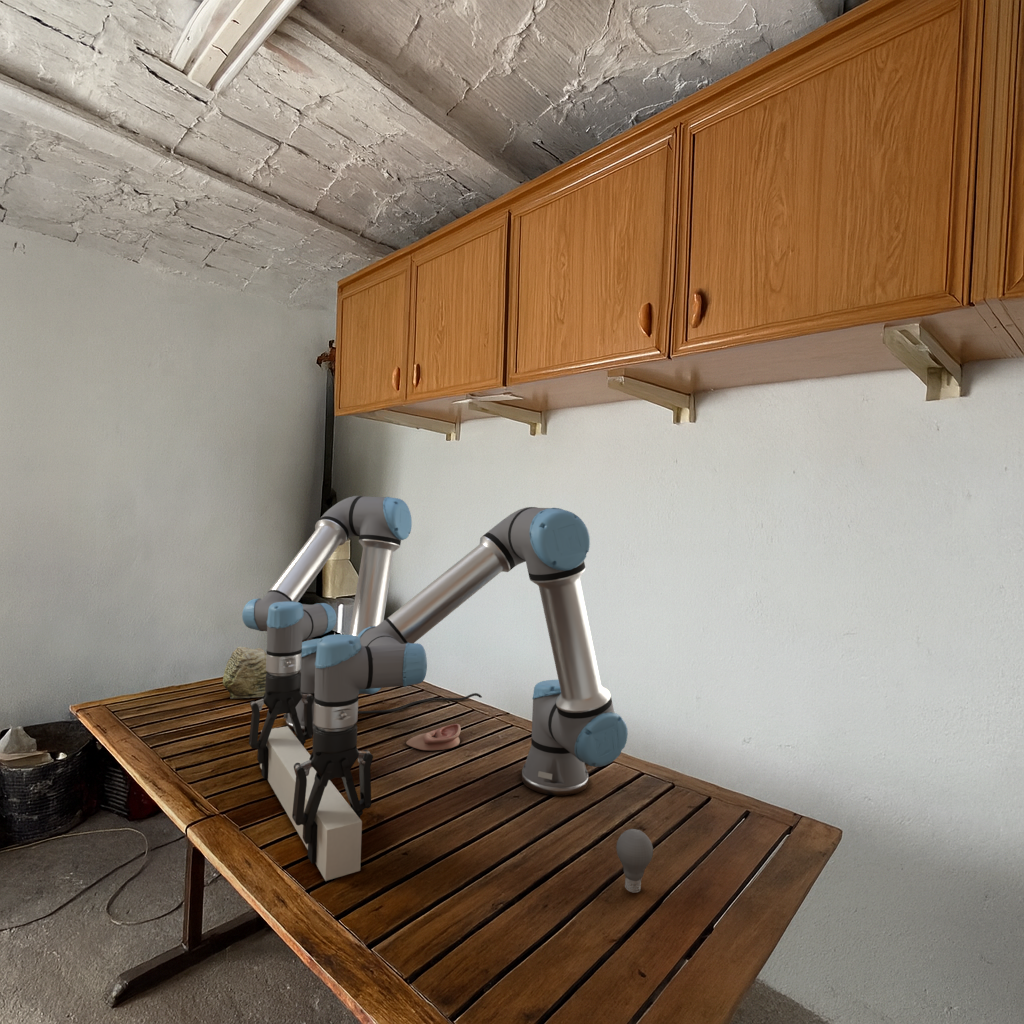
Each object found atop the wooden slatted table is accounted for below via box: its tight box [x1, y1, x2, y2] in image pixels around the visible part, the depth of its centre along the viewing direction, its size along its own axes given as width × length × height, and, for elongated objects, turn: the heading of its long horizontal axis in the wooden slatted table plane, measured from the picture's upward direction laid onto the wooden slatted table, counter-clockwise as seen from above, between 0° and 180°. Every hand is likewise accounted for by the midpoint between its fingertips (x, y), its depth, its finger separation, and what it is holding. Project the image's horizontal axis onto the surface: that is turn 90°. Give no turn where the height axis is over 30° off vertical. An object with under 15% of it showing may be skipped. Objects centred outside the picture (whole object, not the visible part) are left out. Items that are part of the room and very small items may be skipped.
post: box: [259, 725, 363, 882], centre depth 127 cm, size 50×6×9 cm, turn 33°
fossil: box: [222, 646, 268, 699], centre depth 198 cm, size 9×18×15 cm, turn 132°
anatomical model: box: [405, 723, 462, 751], centre depth 165 cm, size 13×4×12 cm
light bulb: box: [615, 828, 654, 894], centre depth 106 cm, size 6×6×10 cm
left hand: (280, 773), depth 143 cm, fingers closed on post, 6 cm apart
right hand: (331, 853), depth 112 cm, fingers closed on post, 6 cm apart
